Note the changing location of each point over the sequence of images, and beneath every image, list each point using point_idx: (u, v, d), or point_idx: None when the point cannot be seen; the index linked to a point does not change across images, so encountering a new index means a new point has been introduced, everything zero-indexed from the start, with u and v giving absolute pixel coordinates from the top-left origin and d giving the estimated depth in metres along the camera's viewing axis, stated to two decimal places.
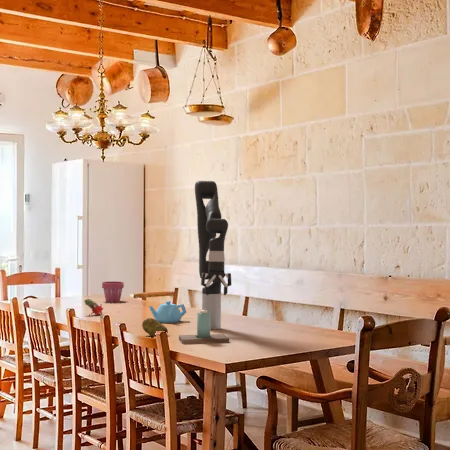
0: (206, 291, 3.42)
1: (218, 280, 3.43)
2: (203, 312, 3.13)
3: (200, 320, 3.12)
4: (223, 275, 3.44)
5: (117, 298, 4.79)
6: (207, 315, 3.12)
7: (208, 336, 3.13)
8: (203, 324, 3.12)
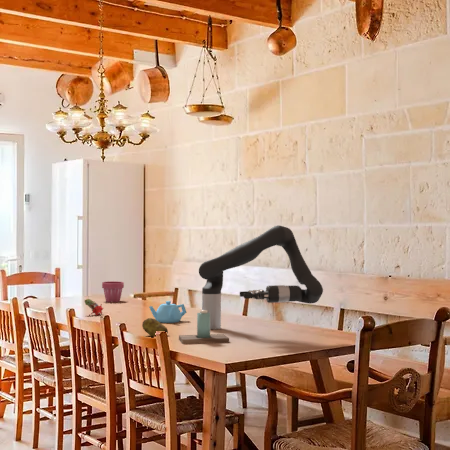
0: (248, 297, 3.13)
1: None
2: (203, 312, 3.13)
3: (200, 320, 3.12)
4: None
5: (117, 298, 4.79)
6: (207, 315, 3.12)
7: (208, 336, 3.13)
8: (203, 324, 3.12)
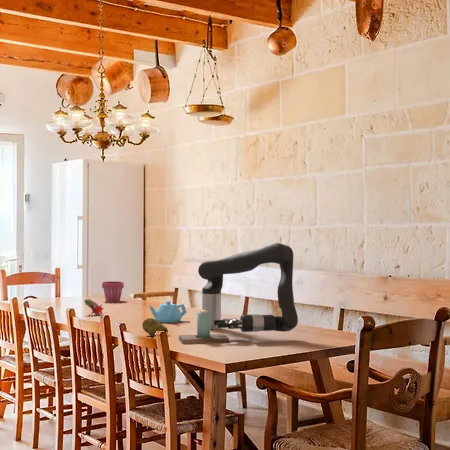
0: (221, 327, 3.11)
1: None
2: (203, 312, 3.13)
3: (200, 320, 3.12)
4: None
5: (117, 298, 4.79)
6: (207, 315, 3.12)
7: (208, 336, 3.13)
8: (203, 324, 3.12)
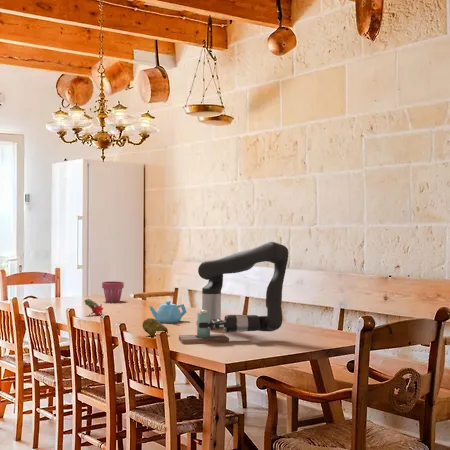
0: (203, 327, 3.10)
1: None
2: (203, 312, 3.13)
3: (200, 320, 3.12)
4: None
5: (117, 298, 4.79)
6: (207, 315, 3.12)
7: (208, 336, 3.13)
8: None
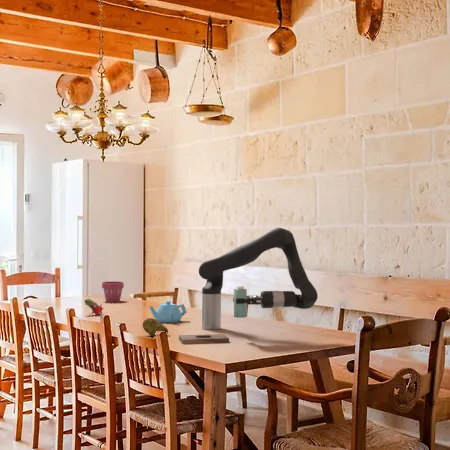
0: (240, 302, 3.13)
1: None
2: (240, 288, 3.16)
3: (237, 296, 3.15)
4: None
5: (117, 298, 4.79)
6: (244, 291, 3.15)
7: (245, 312, 3.16)
8: None
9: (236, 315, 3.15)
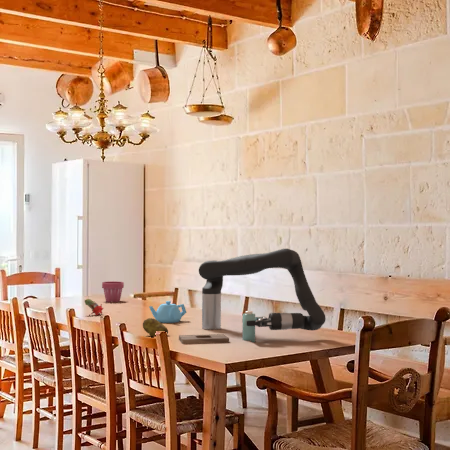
0: (251, 325, 3.13)
1: None
2: (248, 313, 3.17)
3: (245, 321, 3.16)
4: None
5: (117, 298, 4.79)
6: (252, 316, 3.16)
7: (253, 337, 3.17)
8: None
9: (245, 340, 3.16)
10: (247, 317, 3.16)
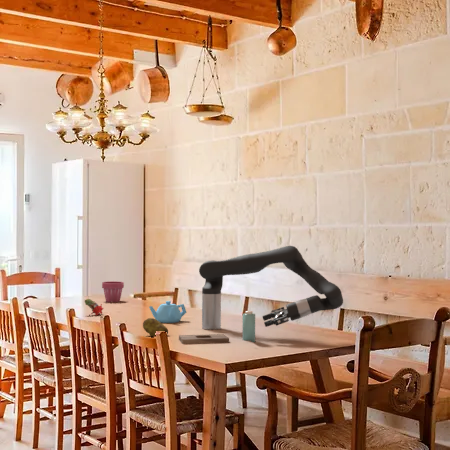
0: (269, 325, 3.15)
1: None
2: (248, 313, 3.17)
3: (245, 321, 3.16)
4: None
5: (117, 298, 4.79)
6: (252, 316, 3.16)
7: (253, 337, 3.17)
8: (249, 325, 3.15)
9: (245, 340, 3.16)
10: (247, 317, 3.16)
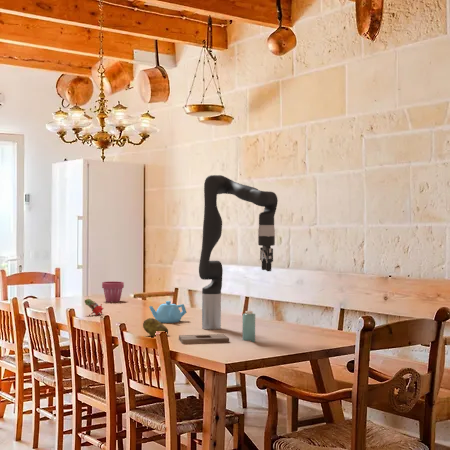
0: (270, 267, 3.27)
1: None
2: (248, 313, 3.17)
3: (245, 321, 3.16)
4: None
5: (117, 298, 4.79)
6: (252, 316, 3.16)
7: (253, 337, 3.17)
8: (249, 325, 3.15)
9: (245, 340, 3.16)
10: (247, 317, 3.16)
